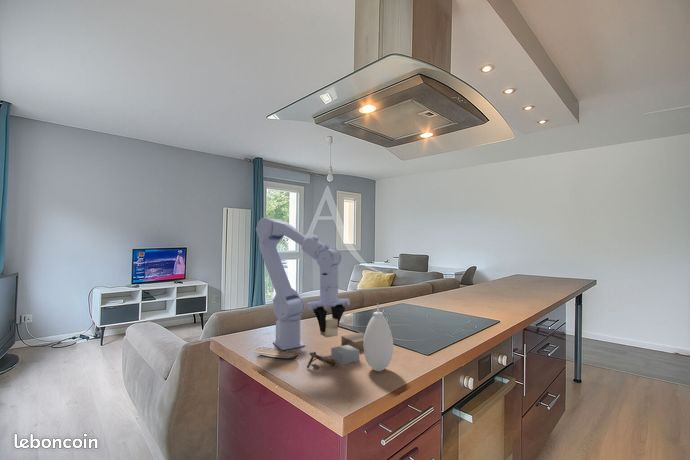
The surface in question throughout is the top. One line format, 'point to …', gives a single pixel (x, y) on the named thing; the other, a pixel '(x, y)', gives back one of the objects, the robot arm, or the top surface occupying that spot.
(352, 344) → the tan square slab
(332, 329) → the maple block
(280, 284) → the robot arm
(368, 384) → the top surface
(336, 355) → the slate grey block
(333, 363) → the toy blunderbuss
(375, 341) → the sauce bottle
